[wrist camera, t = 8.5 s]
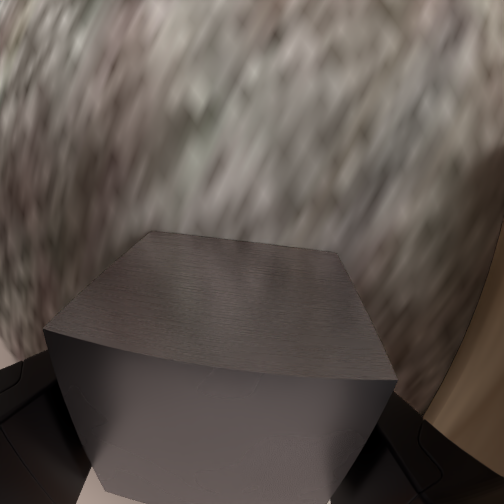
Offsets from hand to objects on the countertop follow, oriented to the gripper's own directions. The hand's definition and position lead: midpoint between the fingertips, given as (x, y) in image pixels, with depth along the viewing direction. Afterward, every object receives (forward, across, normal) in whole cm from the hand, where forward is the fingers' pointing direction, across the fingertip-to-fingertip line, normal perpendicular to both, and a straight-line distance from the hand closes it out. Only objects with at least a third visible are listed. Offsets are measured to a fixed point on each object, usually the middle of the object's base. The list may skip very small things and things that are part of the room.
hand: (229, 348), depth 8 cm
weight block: (+1, 0, 0) cm, 1 cm away
